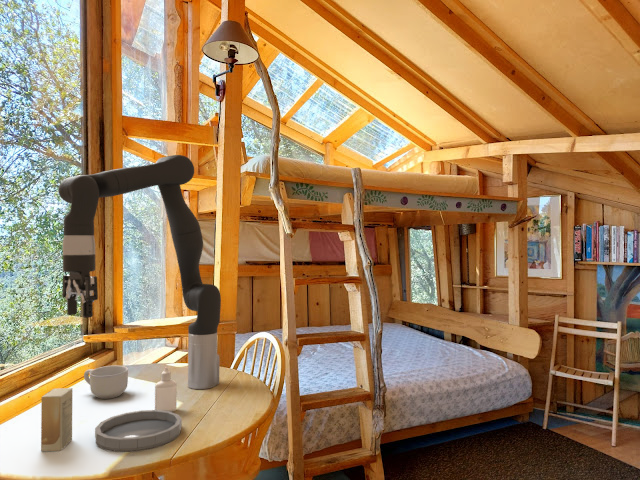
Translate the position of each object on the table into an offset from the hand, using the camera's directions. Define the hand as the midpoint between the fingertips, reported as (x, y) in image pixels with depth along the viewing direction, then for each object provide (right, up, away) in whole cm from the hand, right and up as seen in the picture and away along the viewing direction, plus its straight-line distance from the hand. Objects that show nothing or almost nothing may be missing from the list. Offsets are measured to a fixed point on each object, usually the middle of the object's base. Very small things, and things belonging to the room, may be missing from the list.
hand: (79, 315), depth 123 cm
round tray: (+19, -27, -9) cm, 34 cm away
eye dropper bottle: (+20, -28, +8) cm, 35 cm away
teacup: (-4, -28, +22) cm, 36 cm away
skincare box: (+3, -27, -15) cm, 31 cm away
